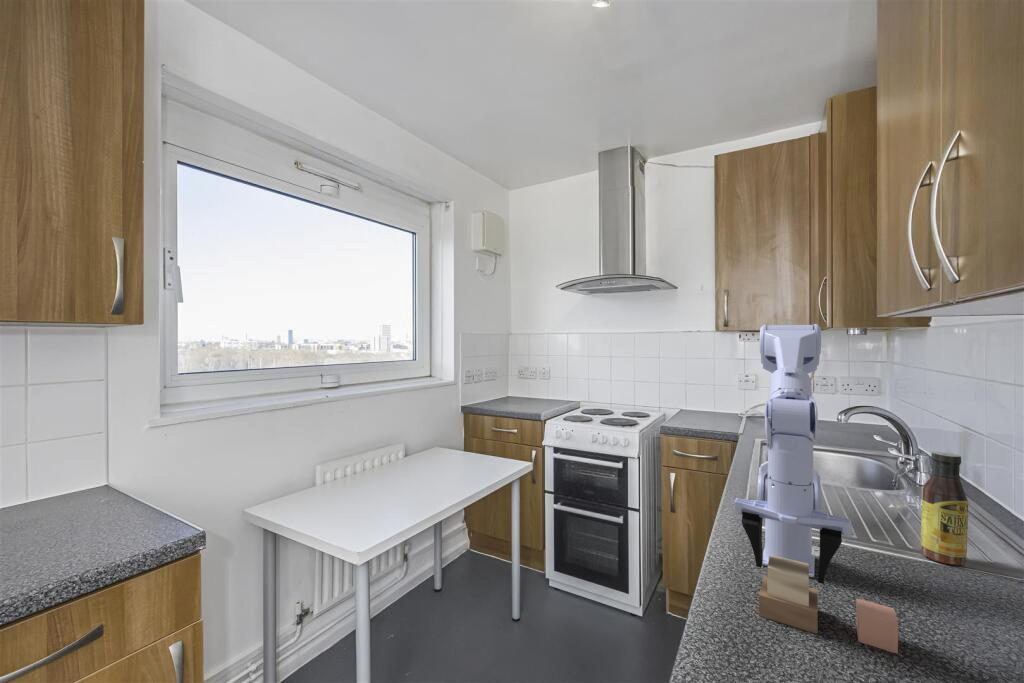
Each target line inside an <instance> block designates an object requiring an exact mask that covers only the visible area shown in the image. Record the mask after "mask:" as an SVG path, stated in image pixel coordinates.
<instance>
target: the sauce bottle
mask: <svg viewBox="0 0 1024 683" xmlns="http://www.w3.org/2000/svg"><path fill="white" fill-rule="evenodd" d="M930 455H931V456H930V458H931V460H932V467H931V468H932V469H931V477H929V479H928V480H927V481H926V482H925V483H924V484H923V488H922V499H921V519H920V521H921V523H920V524H921V525H920V541H919V542H920V545H921V549H920V551H921V555H923V556H924V557H925V556H926V557H925V558H927V557H928V559H930V560H932V561H934V562H938V563H942V564H946V565H950V566H957V565H958V566H963V565H964V564H965V563H966V561H967V560H966V558H967V553H968V529H969V528H968V526H969V524H968V523H969V500H968V498H967V496H966V492H965V491H964V488H963V484H962V482H961V475H960V471H961V470H960V469H961V468H960V466H961V464H962V456H961V455H959V454H954V453H949V452H943V451H932V452H931V454H930ZM962 564H963V565H962Z"/></svg>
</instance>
